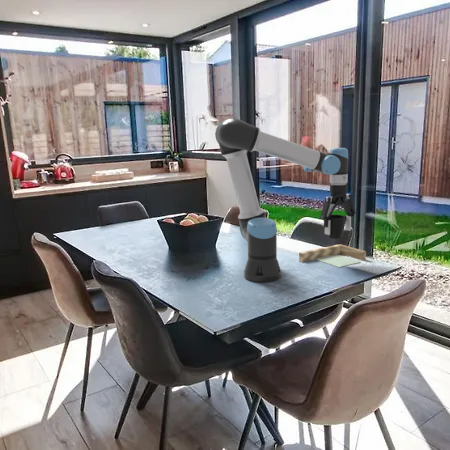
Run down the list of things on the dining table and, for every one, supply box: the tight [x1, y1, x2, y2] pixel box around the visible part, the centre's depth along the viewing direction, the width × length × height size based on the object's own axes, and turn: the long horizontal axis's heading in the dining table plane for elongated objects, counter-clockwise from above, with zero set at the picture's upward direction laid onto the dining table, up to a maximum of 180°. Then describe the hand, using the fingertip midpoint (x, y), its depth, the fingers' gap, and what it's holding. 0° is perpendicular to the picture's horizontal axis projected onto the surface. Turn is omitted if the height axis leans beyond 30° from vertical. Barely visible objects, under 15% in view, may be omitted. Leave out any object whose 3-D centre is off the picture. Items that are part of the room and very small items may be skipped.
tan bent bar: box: [298, 243, 367, 263], centre depth 196 cm, size 26×16×4 cm, turn 120°
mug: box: [328, 214, 347, 240], centre depth 192 cm, size 8×12×10 cm
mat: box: [314, 254, 361, 268], centre depth 195 cm, size 13×15×1 cm
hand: (337, 232), depth 192 cm, fingers closed on mug, 12 cm apart
